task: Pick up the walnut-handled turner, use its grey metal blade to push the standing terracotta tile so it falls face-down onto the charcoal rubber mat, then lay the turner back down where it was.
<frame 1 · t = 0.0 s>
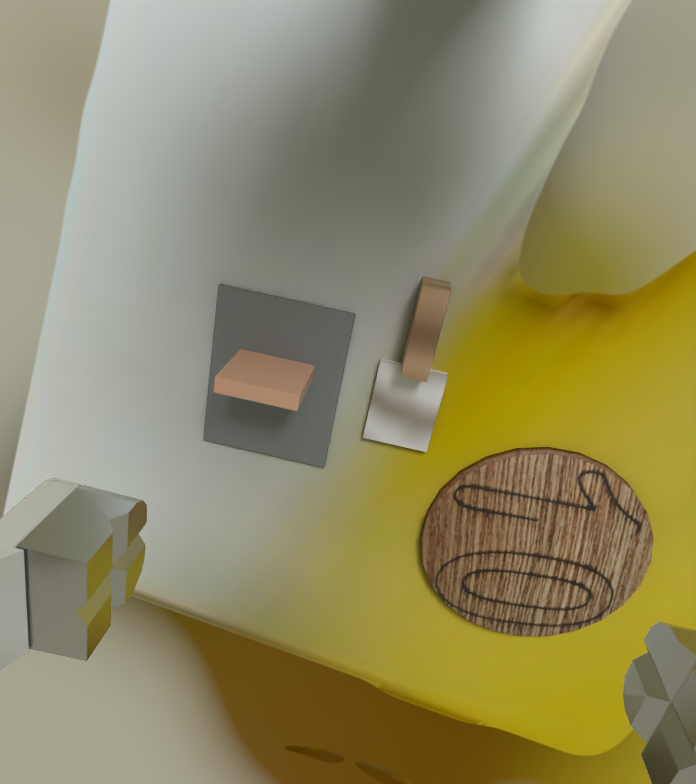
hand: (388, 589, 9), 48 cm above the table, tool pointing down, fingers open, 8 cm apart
turner: (414, 365, 58), on the table
trivet: (530, 540, 65), on the table
mat: (275, 379, 61), on the table
tile: (276, 364, 59), resting on mat
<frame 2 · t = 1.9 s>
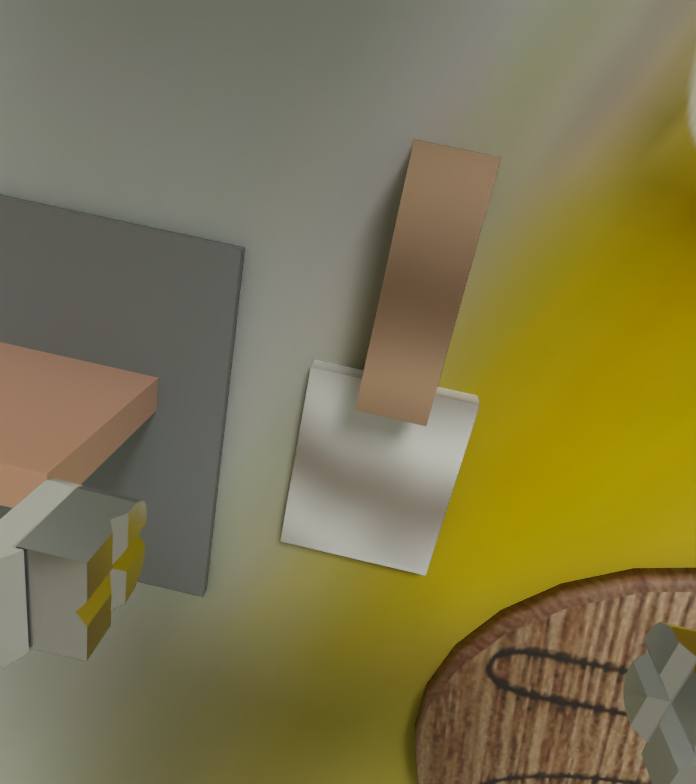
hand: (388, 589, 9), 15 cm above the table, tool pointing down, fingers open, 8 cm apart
turner: (395, 377, 24), on the table
trivet: (644, 742, 31), on the table
mat: (76, 409, 26), on the table
tile: (70, 374, 25), resting on mat
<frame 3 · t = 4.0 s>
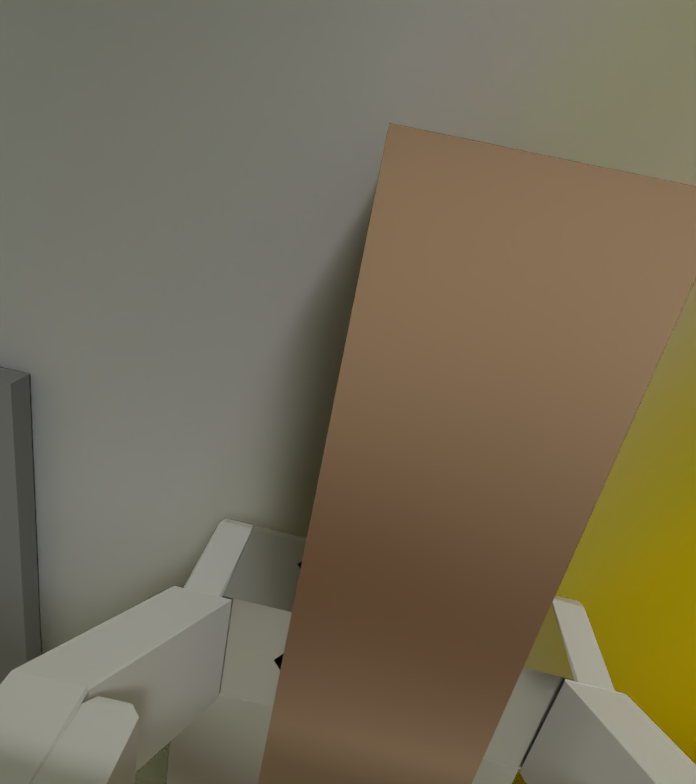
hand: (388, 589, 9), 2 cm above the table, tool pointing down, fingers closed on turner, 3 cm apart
turner: (366, 627, 11), on the table, touching gripper
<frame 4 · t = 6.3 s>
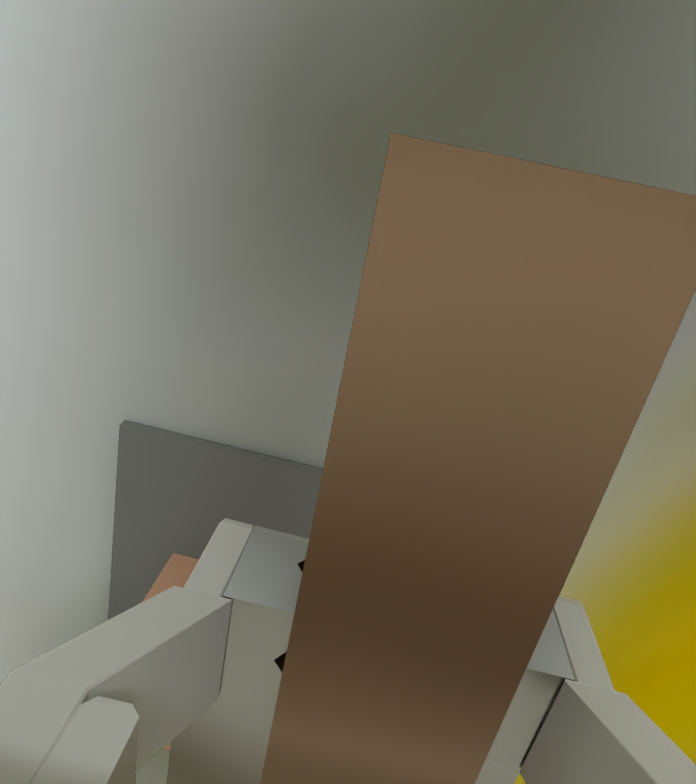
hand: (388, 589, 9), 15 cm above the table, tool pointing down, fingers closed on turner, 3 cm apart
turner: (366, 630, 12), point 13 cm above the table, touching gripper
mat: (248, 609, 29), on the table
tile: (251, 585, 27), resting on mat
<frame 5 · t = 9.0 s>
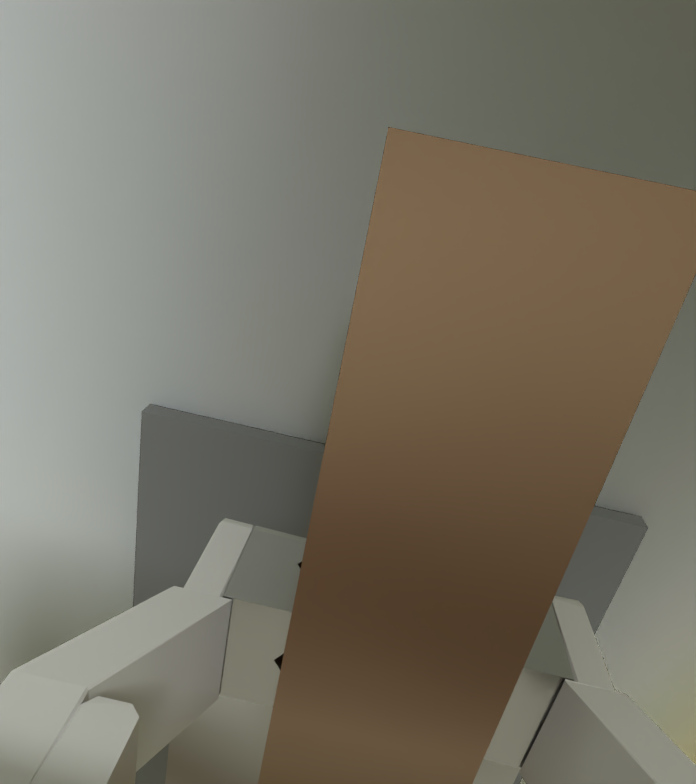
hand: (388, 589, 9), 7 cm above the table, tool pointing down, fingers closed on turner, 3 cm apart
turner: (365, 630, 11), point 5 cm above the table, touching gripper
mat: (334, 681, 19), on the table
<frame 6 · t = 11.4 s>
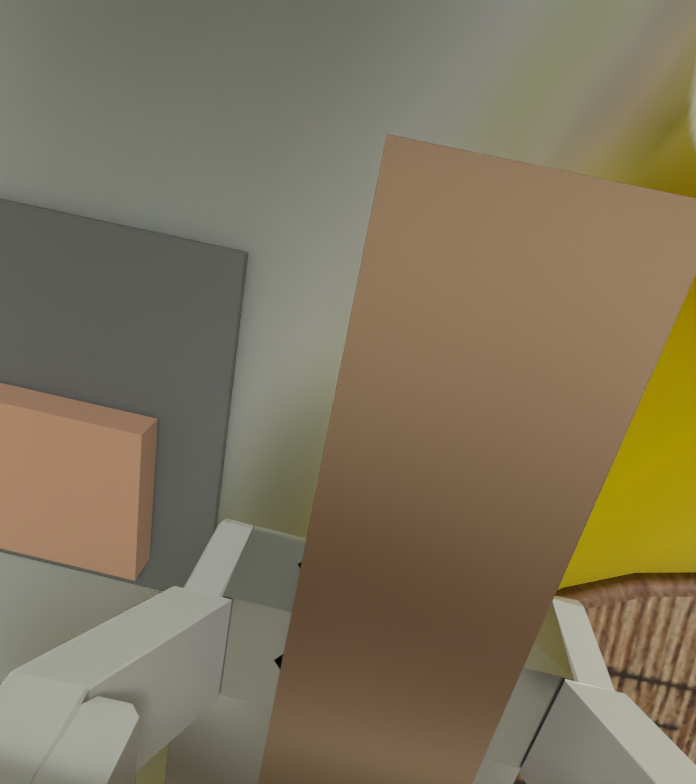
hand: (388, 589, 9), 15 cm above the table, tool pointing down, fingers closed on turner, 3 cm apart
turner: (365, 632, 12), point 14 cm above the table, touching gripper
trivet: (646, 747, 31), on the table
mat: (79, 413, 26), on the table
tile: (61, 406, 25), point 1 cm above the table, tilted 90°, touching mat
when the fingers open (3 cm above the table, at t = 13.8 s): turner drops 2 cm, on the table.
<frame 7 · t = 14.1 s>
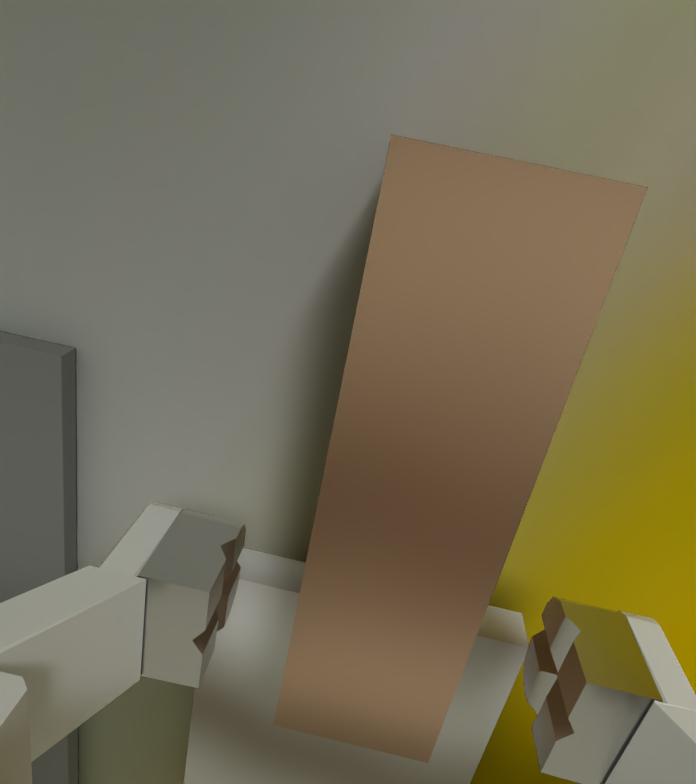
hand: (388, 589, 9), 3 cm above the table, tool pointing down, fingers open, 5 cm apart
turner: (370, 577, 13), on the table
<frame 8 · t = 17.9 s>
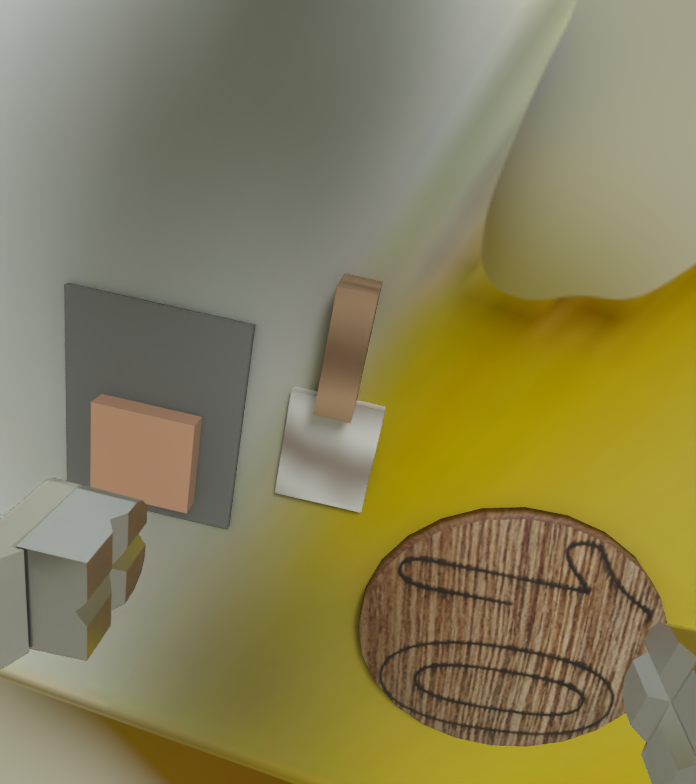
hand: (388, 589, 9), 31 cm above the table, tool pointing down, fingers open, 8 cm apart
turner: (339, 396, 42), on the table
trivet: (504, 624, 49), on the table
mat: (154, 413, 44), on the table
tile: (147, 409, 43), point 1 cm above the table, tilted 90°, touching mat
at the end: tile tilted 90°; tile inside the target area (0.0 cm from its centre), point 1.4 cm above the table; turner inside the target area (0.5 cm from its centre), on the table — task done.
